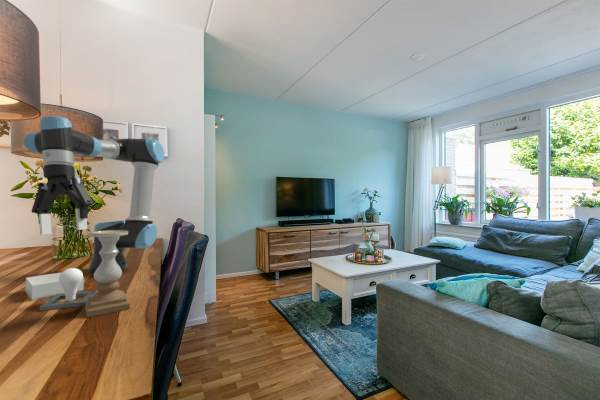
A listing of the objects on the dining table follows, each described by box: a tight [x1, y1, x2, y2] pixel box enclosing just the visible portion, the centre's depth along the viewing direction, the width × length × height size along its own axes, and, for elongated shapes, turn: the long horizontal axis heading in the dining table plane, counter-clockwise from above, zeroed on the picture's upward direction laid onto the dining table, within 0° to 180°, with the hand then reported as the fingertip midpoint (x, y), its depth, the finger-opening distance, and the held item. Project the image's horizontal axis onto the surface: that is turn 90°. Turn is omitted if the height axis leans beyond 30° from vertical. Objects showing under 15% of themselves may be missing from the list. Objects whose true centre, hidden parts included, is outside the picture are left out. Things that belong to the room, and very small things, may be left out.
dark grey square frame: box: [39, 290, 98, 311], centre depth 89 cm, size 12×12×1 cm
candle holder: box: [84, 230, 131, 318], centre depth 85 cm, size 11×11×24 cm
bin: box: [25, 271, 85, 302], centre depth 99 cm, size 14×14×5 cm
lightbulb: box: [59, 267, 84, 302], centre depth 89 cm, size 6×6×11 cm
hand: (63, 232), depth 85 cm, fingers open, 13 cm apart
